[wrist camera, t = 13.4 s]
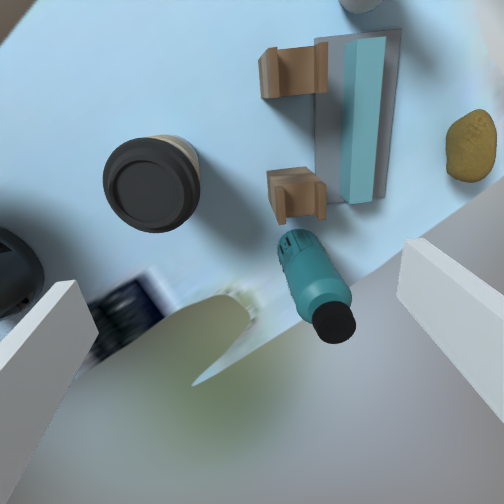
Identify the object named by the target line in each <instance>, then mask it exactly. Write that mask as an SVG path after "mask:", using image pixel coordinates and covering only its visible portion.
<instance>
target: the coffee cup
mask: <svg viewBox="0 0 504 504" xmlns="http://www.w3.org/2000/svg"><path fill="white" fill-rule="evenodd" d="M103 188H104V192H105V195H106V198H107V200H108V203H109V204H110V206H111V208H112V209H113V211H114V212H115V213H116V214H117V215H118V216H119V217H120V218H121V219H122V220H123V221H124V222H125V223H127V224H128V225H130V226H132V227H133V228H136V229H138V230H141V231H144V232H149V233H164V232H168V231H171V230H174V229H176V228H177V227H179V226H180V225H182V224H183V223H184V222H185V221H186V220H188V219H189V218H190V216H191V215H192V214H193V212H194V211H195V209H196V207H197V205H198V202H199V197H200V170H199V161H198V156H197V153H196V151H195V149H194V148H193V147H192V145H191V144H190V143H189V142H188V141H186V140H185V139H183V138H181V137H179V136H175V135H156V136H150V137H145V138H136V139H132V140H129V141H127V142H125V143H123V144H122V145H120V146H119V147H117V148H116V149H115V150H114V151H113V153H112V154H111V155H110V157H109V158H108V160H107V162H106V164H105V167H104V172H103Z"/></svg>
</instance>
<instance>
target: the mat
mask: <svg viewBox="0 0 504 504" xmlns="http://www.w3.org/2000/svg"><path fill="white" fill-rule="evenodd" d="M401 31H402V29H394V30H385V31H376V32H366V33H357V34H348V35H338V36H329V37H319V38H315V39H314V45H316V44H318V43H320V42H328V92H323V93H315V175H316V176H317V177H318V178H319V179H320V180H321V181H322V182H323V183H325V184H326V204H328V203H337V202H345V200H344V199H343V198H342V197H341V196H339V194H340V165H341V136H342V106H343V77H344V48H345V45H346V44H348V43H351V42H353V41H355V40H357V39H366V38H375V37H385V36H386V41H385V53H384V65H383V77H382V88H381V100H380V112H379V124H378V136H377V147H376V159H375V171H374V183H373V195H372V198H379V197H384V195H385V186H386V176H387V166H388V157H389V147H390V137H391V127H392V118H393V108H394V98H395V89H396V79H397V69H398V60H399V50H400V40H401Z"/></svg>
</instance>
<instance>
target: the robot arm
mask: <svg viewBox="0 0 504 504" xmlns="http://www.w3.org/2000/svg"><path fill="white" fill-rule="evenodd" d="M43 283H44V275H43V270H42V266H41V264H40V262H39V260H38V258H37V256H36V255H35V253H34V252H33V251H32V250H31V248H30V247H29V246H28V245H27V244H26V243H25V242H23V241H22V240H21V239H20V238H18V237H17V236H16V235H14V234H12V233H11V232H9V231H7V230H5V229H3V228H1V227H0V321H2V320H5V319H7V318H9V317H11V316H13V315H15V314H17V313H19V312H21V311H22V310H24V309H25V308H27V307H28V306H29V305H30V304H31V303H32V302H33V301H34V300H35V299H36V298H37V296H38V295H39V294H40V292H41V290H42V287H43ZM396 297H397V298H398V299H399V300H400V301H401V303H402V304H403V305H404V306H405V307H406V308H407V309H408V311H409V312H410V313H411V314H412V315H413V317H414V318H415V319H416V320H417V321H418V323H419V324H420V325H421V326H422V327H423V328H424V330H425V331H426V332H427V333H428V334H429V336H430V337H431V338H432V339H433V340H434V342H435V343H436V344H437V345H438V346H439V347H440V349H441V350H442V351H443V352H444V353H445V355H446V356H447V357H448V358H449V359H450V360H451V362H452V363H453V364H454V365H455V366H456V368H457V369H458V370H459V371H460V372H461V373H462V375H463V376H464V377H465V378H466V379H467V380H468V382H469V383H470V384H471V385H472V386H473V388H474V389H475V390H476V391H477V392H478V394H479V395H480V396H481V397H482V398H483V399H484V401H485V402H486V403H487V404H488V405H489V406H490V408H491V409H492V410H493V411H494V412H495V414H496V415H497V416H498V417H499V418H500V419H501V421H502V422H503V423H504V296H503V295H502V294H500V293H499V292H497V291H496V290H495V289H493V288H492V287H491V286H489V285H488V284H486V283H485V282H484V281H482V280H481V279H480V278H478V277H477V276H475V275H474V274H473V273H471V272H470V271H468V270H467V269H466V268H464V267H463V266H461V265H460V264H459V263H457V262H456V261H455V260H453V259H452V258H450V257H449V256H448V255H446V254H445V253H443V252H442V251H441V250H439V249H438V248H437V247H435V246H434V245H432V244H431V243H430V242H428V241H427V240H425V239H424V238H418V239H410V240H404V247H403V254H402V260H401V267H400V274H399V282H398V289H397V296H396ZM98 334H99V332H98V330H97V328H96V325H95V323H94V321H93V318H92V316H91V313H90V311H89V309H88V306H87V304H86V302H85V299H84V297H83V295H82V292H81V290H80V288H79V285H78V283H77V281H76V280H69V281H61V282H56V283H55V284H54V285H53V286H52V287H51V288H50V290H49V291H48V292H47V293H46V294H45V295H44V296H43V297H42V298H41V299H40V300H39V301H38V303H37V304H36V305H35V306H34V307H33V308H32V309H31V310H30V311H29V312H28V313H27V314H26V315H25V317H24V318H23V319H22V320H21V321H20V322H19V323H18V324H17V325H16V326H15V327H14V328H13V330H12V331H11V332H10V333H9V334H8V335H7V336H6V337H5V338H4V339H3V340H2V341H1V343H0V504H6V503H7V501H8V499H9V497H10V495H11V493H12V492H13V490H14V488H15V486H16V484H17V483H18V481H19V479H20V477H21V475H22V473H23V472H24V470H25V468H26V466H27V464H28V462H29V460H30V459H31V457H32V455H33V453H34V451H35V449H36V448H37V446H38V444H39V442H40V440H41V439H42V437H43V435H44V433H45V431H46V429H47V427H48V426H49V424H50V422H51V420H52V418H53V417H54V415H55V413H56V411H57V409H58V407H59V406H60V404H61V402H62V400H63V398H64V396H65V394H66V393H67V391H68V389H69V387H70V385H71V383H72V382H73V380H74V378H75V376H76V374H77V372H78V371H79V369H80V367H81V365H82V363H83V361H84V360H85V358H86V356H87V354H88V352H89V350H90V349H91V347H92V345H93V343H94V341H95V339H96V338H97V336H98Z"/></svg>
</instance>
